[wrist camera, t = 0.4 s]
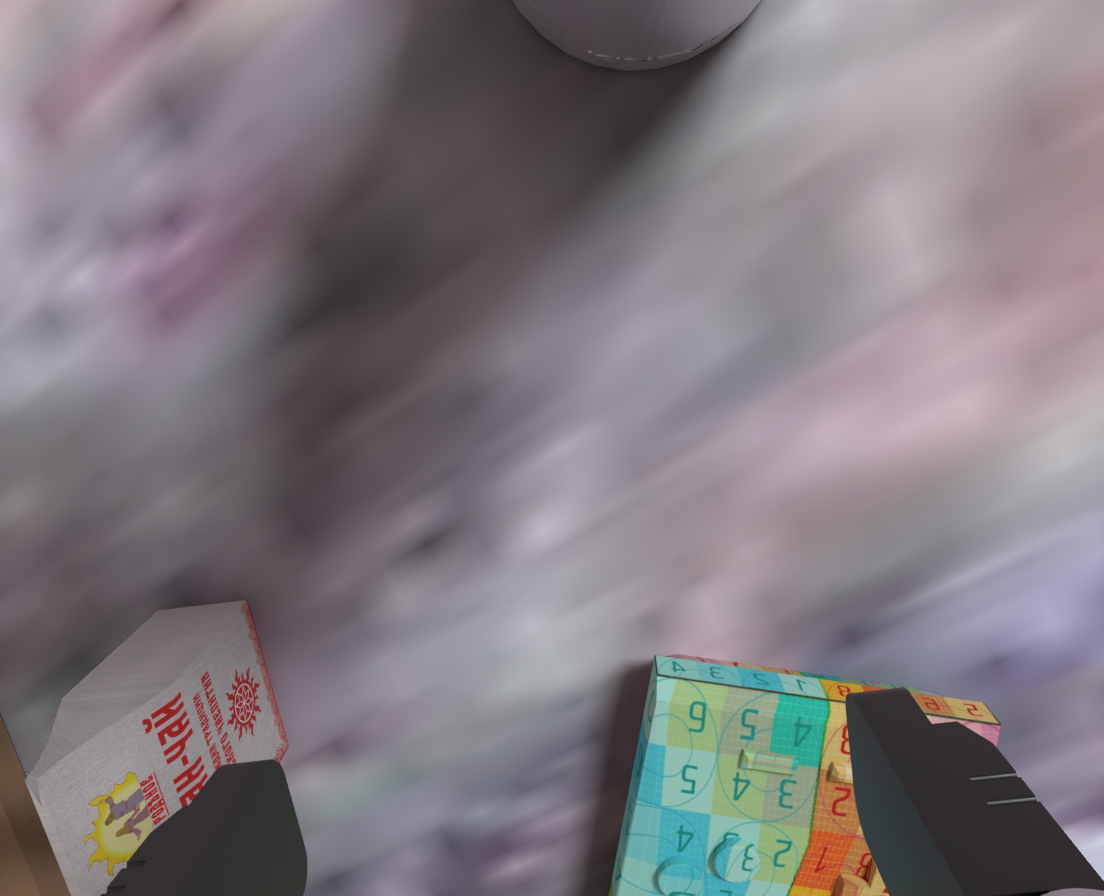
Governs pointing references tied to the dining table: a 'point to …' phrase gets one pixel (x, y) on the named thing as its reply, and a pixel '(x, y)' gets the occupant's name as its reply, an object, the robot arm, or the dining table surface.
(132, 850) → the white food carton
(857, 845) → the puzzle game
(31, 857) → the wooden rack
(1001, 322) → the dining table surface
